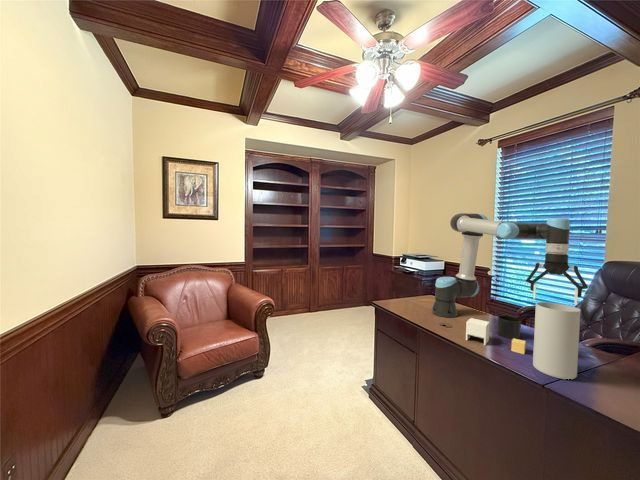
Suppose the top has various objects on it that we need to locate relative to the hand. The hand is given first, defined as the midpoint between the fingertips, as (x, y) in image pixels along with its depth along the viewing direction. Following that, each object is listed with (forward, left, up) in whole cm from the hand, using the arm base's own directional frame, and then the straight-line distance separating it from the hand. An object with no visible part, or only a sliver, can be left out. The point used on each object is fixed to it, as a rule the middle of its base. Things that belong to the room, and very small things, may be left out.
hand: (554, 301), depth 116 cm
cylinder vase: (+22, +1, -23) cm, 32 cm away
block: (+10, -11, -23) cm, 27 cm away
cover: (+10, -27, -23) cm, 37 cm away
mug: (-9, -16, -23) cm, 29 cm away
